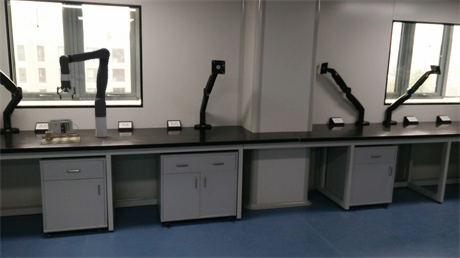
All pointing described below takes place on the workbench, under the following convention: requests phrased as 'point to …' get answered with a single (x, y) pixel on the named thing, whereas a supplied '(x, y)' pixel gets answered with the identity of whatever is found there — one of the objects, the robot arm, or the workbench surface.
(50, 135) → the brown boxy piece
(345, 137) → the workbench surface
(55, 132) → the geiger counter
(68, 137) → the maple board
